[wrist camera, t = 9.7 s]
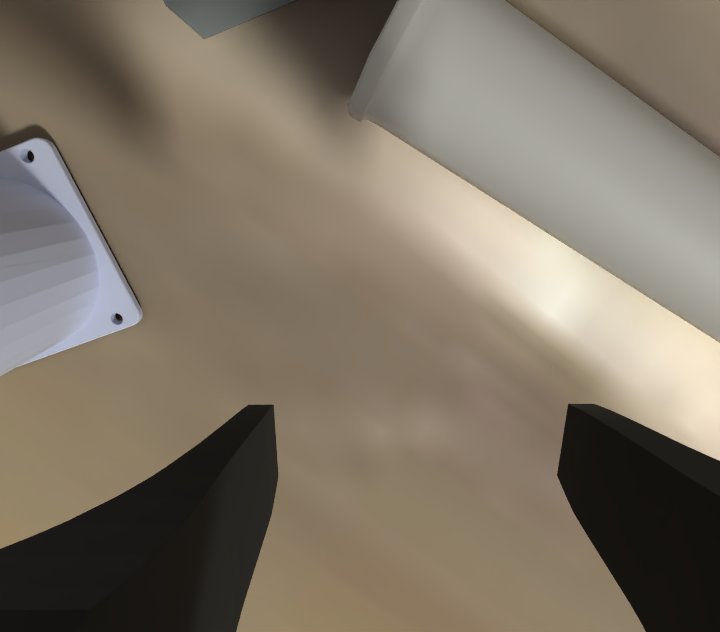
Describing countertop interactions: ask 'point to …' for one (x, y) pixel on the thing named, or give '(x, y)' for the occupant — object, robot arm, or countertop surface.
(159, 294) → the countertop surface
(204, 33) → the hole block
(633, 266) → the tube
